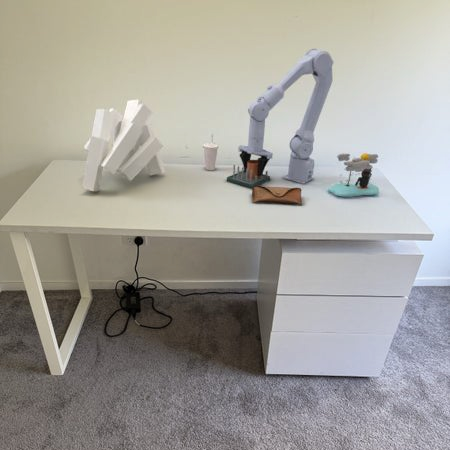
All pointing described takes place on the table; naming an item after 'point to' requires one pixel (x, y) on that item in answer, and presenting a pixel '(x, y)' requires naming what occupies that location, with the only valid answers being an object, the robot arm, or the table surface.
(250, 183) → the rack
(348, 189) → the penguin figurine
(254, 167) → the cup
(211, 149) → the smoothie
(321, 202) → the table surface
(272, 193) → the sunglasses case
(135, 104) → the pile of blocks
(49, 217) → the table surface
